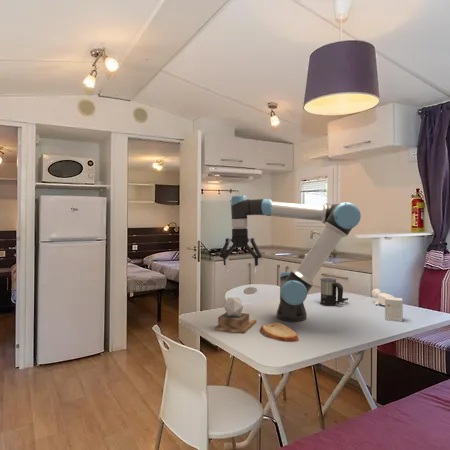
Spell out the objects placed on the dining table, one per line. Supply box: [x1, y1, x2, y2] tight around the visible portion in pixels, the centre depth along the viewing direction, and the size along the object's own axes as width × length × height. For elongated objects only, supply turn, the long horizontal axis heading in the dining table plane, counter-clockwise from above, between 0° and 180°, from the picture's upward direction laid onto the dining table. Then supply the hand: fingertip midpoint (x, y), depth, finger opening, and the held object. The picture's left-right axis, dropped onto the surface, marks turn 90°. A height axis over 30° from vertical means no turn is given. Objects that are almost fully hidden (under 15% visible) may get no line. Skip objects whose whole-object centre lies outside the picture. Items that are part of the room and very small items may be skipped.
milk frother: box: [319, 277, 349, 307], centre depth 219 cm, size 14×16×15 cm
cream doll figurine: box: [371, 288, 396, 306], centre depth 216 cm, size 9×8×15 cm
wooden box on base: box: [214, 312, 257, 334], centre depth 175 cm, size 14×18×6 cm
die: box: [224, 297, 244, 316], centre depth 171 cm, size 8×9×10 cm
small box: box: [384, 297, 404, 322], centre depth 186 cm, size 8×6×10 cm
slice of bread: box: [259, 321, 300, 343], centre depth 163 cm, size 18×18×4 cm
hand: (240, 272), depth 178 cm, fingers open, 13 cm apart
